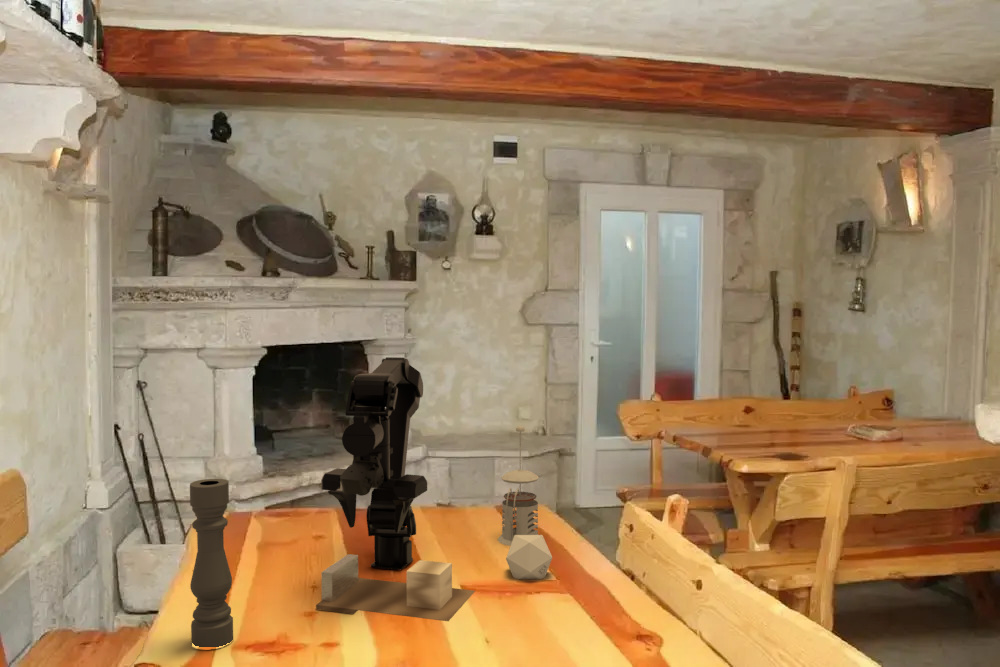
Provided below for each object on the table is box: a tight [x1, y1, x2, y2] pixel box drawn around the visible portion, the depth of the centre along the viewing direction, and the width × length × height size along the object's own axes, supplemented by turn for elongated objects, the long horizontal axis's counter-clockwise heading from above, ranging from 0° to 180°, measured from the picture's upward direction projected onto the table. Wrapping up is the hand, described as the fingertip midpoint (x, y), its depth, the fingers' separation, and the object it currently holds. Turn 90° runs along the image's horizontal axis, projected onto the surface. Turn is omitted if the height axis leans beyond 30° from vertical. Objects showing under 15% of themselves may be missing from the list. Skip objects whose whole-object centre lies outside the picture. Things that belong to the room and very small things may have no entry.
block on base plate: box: [315, 553, 476, 622], centre depth 145 cm, size 24×14×6 cm, turn 73°
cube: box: [406, 559, 453, 610], centre depth 143 cm, size 6×6×6 cm
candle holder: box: [189, 478, 234, 647], centre depth 129 cm, size 6×6×25 cm
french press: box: [497, 425, 539, 547], centre depth 180 cm, size 10×12×25 cm
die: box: [505, 534, 553, 580], centre depth 157 cm, size 8×9×10 cm
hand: (374, 529), depth 150 cm, fingers open, 9 cm apart
